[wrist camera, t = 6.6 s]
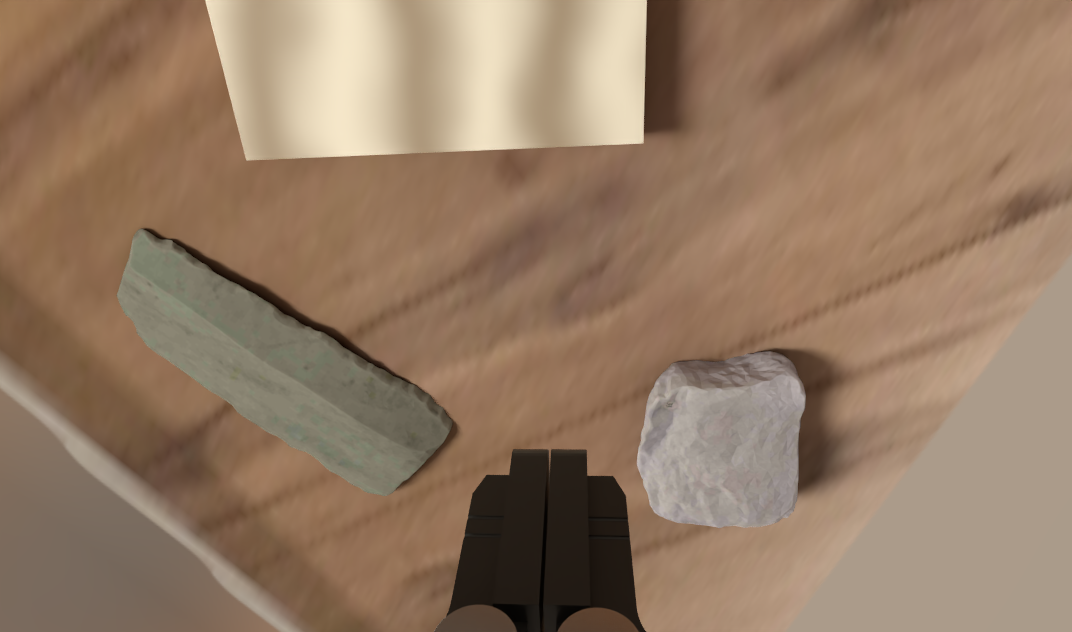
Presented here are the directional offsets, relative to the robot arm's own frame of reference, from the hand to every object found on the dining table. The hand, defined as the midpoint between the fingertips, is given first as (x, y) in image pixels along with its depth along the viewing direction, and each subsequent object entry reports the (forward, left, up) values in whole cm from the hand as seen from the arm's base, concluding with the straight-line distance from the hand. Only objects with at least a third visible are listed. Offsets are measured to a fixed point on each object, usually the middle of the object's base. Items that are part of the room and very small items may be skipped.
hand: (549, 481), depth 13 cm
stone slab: (+19, +13, -24) cm, 33 cm away
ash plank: (+6, -7, -23) cm, 25 cm away
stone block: (-9, +18, -24) cm, 31 cm away
